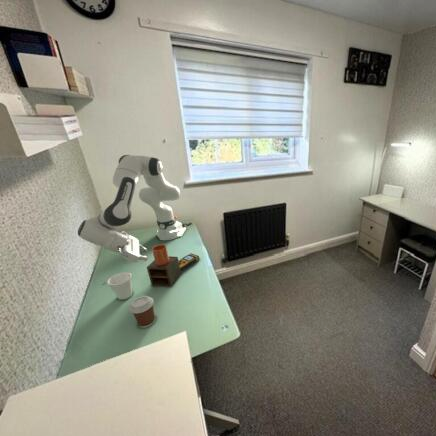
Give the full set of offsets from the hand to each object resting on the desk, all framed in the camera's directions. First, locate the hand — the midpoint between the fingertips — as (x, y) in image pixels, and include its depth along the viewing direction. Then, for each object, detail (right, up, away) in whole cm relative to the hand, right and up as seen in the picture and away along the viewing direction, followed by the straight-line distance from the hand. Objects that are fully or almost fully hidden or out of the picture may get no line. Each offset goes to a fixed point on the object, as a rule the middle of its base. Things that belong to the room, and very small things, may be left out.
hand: (146, 254), depth 122 cm
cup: (-10, -21, -1) cm, 23 cm away
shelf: (+5, -16, +11) cm, 20 cm away
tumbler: (+5, -5, +6) cm, 9 cm away
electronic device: (+9, -10, +24) cm, 28 cm away
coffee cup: (+10, -28, -16) cm, 34 cm away
